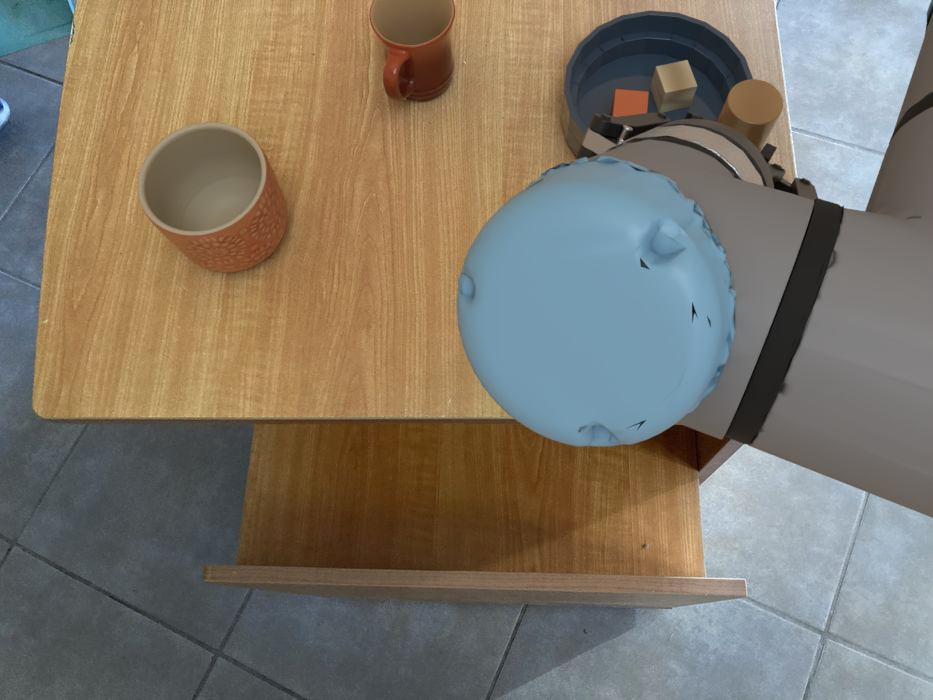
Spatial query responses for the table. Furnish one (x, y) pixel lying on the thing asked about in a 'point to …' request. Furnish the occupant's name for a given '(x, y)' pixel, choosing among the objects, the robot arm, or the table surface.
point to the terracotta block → (629, 102)
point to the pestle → (752, 110)
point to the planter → (214, 196)
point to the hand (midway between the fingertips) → (736, 152)
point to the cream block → (673, 86)
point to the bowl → (647, 67)
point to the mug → (415, 46)
